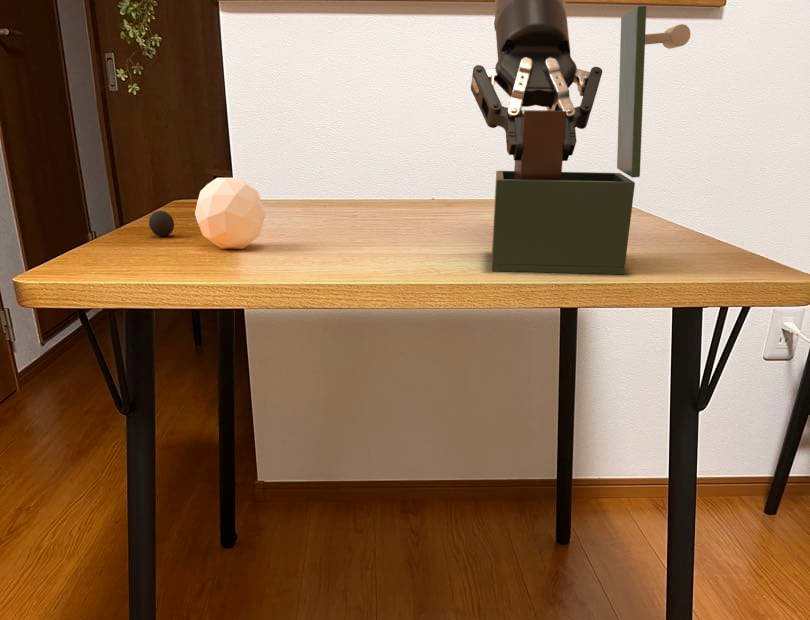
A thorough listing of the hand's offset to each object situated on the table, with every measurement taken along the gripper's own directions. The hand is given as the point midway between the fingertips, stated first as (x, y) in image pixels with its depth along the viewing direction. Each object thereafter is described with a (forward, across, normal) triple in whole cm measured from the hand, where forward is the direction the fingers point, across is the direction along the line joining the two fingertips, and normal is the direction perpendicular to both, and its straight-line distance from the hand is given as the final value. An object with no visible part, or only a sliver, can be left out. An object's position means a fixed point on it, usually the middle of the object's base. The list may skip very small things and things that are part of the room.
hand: (542, 154), depth 88 cm
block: (+2, 0, +5) cm, 5 cm away
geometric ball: (0, -33, +16) cm, 37 cm away
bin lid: (-4, +8, -3) cm, 10 cm away
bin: (+7, +2, +9) cm, 11 cm away
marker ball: (-6, -43, +22) cm, 49 cm away
